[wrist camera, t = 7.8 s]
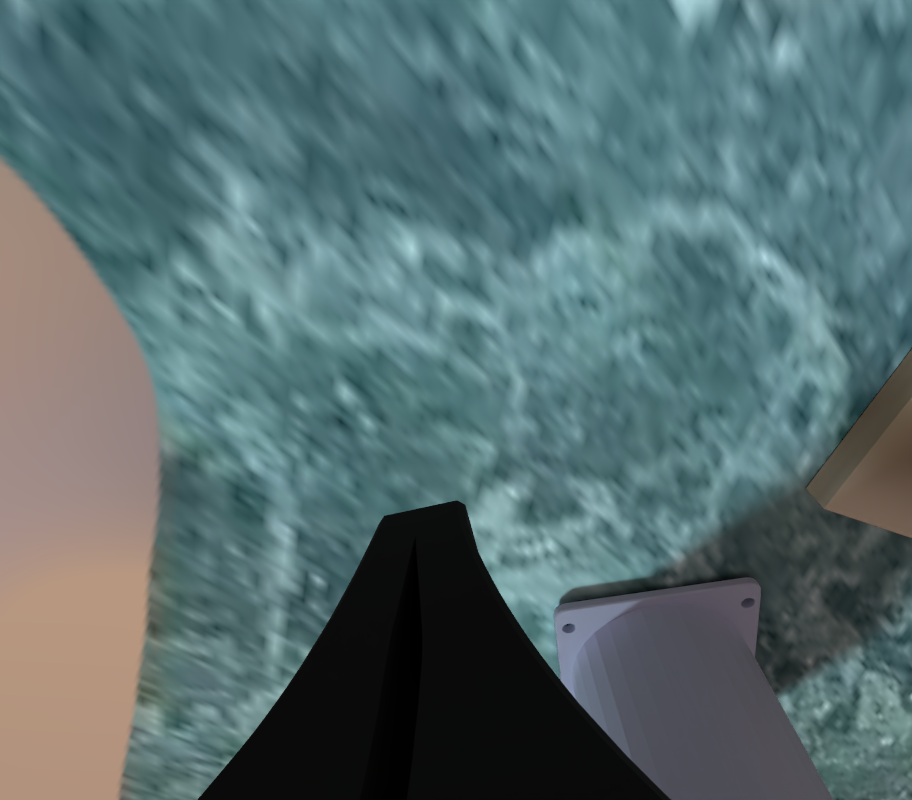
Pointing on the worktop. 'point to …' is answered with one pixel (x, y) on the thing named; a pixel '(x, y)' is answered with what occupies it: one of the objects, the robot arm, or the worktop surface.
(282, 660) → the worktop surface
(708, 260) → the worktop surface
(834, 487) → the dial board
